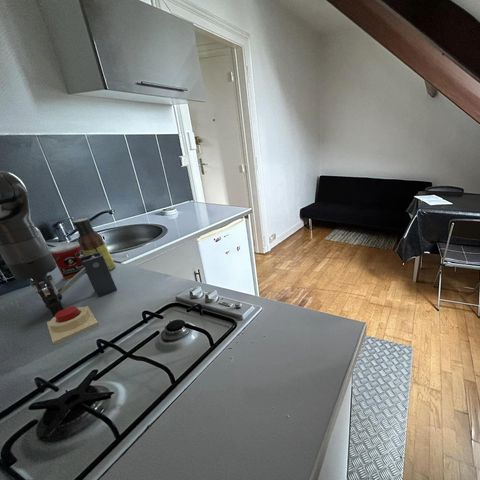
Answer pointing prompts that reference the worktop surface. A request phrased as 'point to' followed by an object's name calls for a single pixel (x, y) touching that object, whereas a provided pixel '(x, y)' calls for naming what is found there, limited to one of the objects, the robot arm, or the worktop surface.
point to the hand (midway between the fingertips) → (59, 312)
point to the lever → (70, 282)
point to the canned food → (68, 258)
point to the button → (67, 314)
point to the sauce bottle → (92, 241)
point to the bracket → (98, 274)
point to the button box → (71, 325)
